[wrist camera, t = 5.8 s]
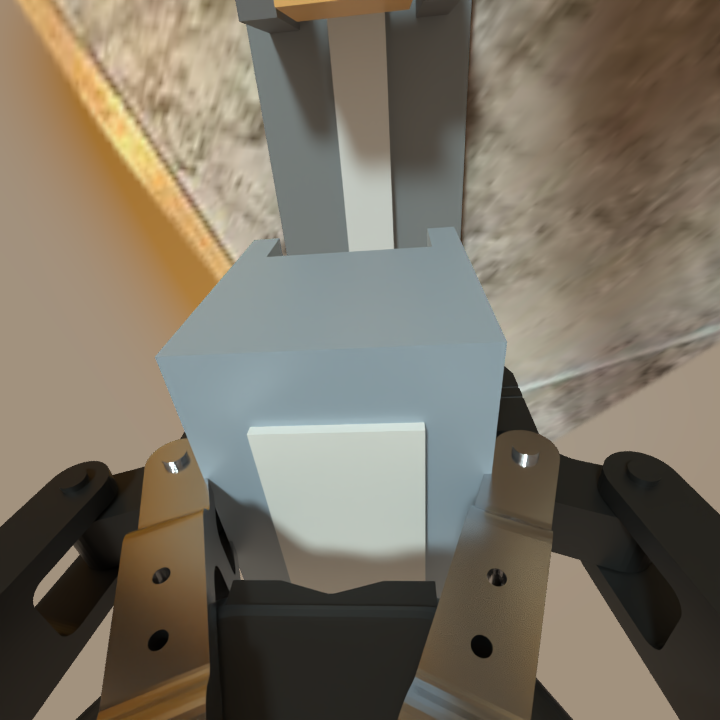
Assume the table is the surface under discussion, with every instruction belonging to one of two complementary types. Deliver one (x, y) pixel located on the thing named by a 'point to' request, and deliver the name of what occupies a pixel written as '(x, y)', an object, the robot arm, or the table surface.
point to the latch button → (337, 8)
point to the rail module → (342, 408)
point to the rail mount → (363, 122)
